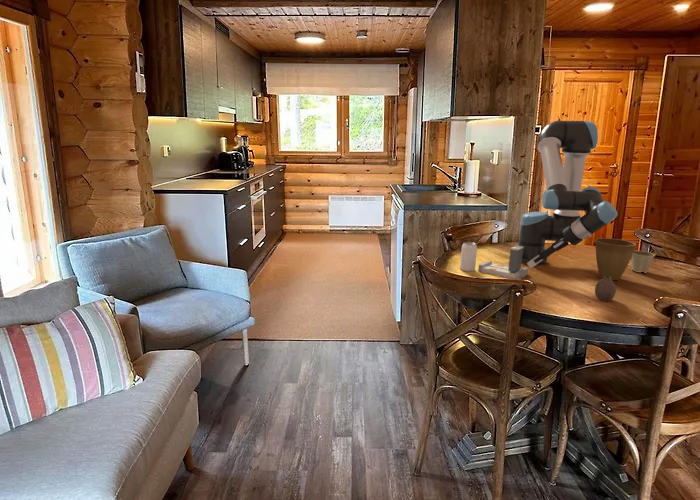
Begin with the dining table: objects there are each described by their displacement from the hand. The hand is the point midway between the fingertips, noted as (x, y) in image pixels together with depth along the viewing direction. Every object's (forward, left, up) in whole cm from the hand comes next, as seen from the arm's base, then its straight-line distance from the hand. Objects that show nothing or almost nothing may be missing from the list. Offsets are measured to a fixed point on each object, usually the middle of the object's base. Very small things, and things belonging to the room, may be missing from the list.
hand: (529, 265), depth 204 cm
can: (+21, -13, -6) cm, 26 cm away
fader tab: (+4, -4, -5) cm, 8 cm away
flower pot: (-56, -9, -6) cm, 57 cm away
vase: (-17, +26, -6) cm, 32 cm away
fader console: (+8, -8, -6) cm, 12 cm away
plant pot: (-36, 0, -6) cm, 37 cm away
